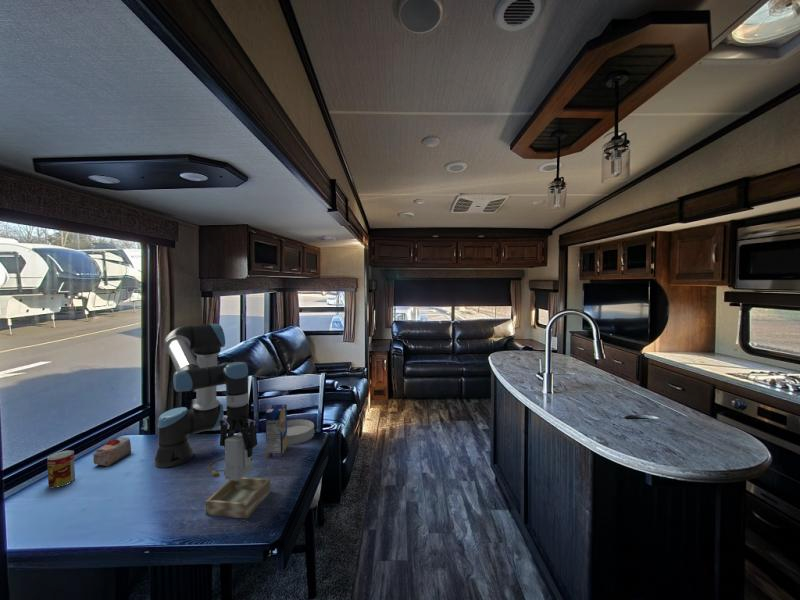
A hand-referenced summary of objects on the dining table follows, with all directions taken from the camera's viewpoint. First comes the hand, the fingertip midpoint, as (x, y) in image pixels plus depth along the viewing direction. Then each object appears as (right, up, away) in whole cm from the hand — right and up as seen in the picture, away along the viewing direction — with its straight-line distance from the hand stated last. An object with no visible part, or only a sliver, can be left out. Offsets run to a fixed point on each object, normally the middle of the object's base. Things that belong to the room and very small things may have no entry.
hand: (239, 464), depth 128 cm
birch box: (0, -15, +1) cm, 15 cm away
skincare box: (0, -4, 0) cm, 4 cm away
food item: (-75, -14, +33) cm, 83 cm away
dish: (+2, -13, +59) cm, 60 cm away
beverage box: (0, -14, +40) cm, 42 cm away
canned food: (-81, -15, +14) cm, 83 cm away
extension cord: (-21, -15, +26) cm, 36 cm away
